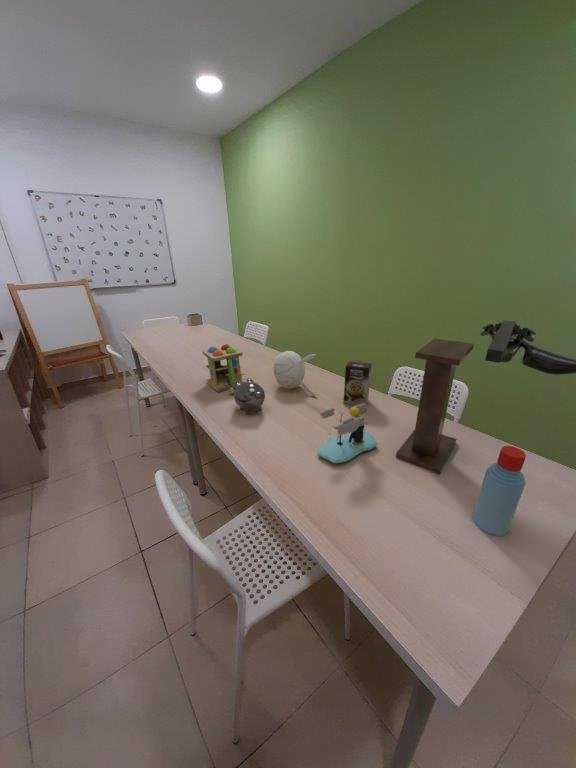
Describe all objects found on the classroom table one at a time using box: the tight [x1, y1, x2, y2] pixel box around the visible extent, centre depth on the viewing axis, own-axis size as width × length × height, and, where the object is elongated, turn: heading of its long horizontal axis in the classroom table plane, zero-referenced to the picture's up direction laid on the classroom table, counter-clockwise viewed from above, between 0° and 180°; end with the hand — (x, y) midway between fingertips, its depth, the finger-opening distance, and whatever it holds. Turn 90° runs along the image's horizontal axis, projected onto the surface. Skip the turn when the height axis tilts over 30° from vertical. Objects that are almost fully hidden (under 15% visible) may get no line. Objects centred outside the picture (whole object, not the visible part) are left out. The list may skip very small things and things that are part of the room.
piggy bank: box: [233, 377, 266, 416], centre depth 115 cm, size 11×15×12 cm
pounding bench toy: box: [202, 344, 247, 396], centre depth 135 cm, size 23×14×18 cm, turn 32°
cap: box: [496, 445, 527, 472], centre depth 59 cm, size 4×4×3 cm
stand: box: [395, 338, 475, 475], centre depth 84 cm, size 12×18×32 cm, turn 140°
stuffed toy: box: [273, 350, 318, 399], centre depth 130 cm, size 19×14×25 cm
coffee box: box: [343, 360, 373, 406], centre depth 117 cm, size 9×6×16 cm
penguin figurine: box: [317, 403, 379, 464], centre depth 89 cm, size 20×11×15 cm, turn 119°
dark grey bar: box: [484, 319, 517, 364], centre depth 78 cm, size 3×24×3 cm, turn 141°
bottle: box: [472, 462, 526, 537], centre depth 62 cm, size 7×7×18 cm
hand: (506, 326), depth 82 cm, fingers closed on dark grey bar, 3 cm apart
